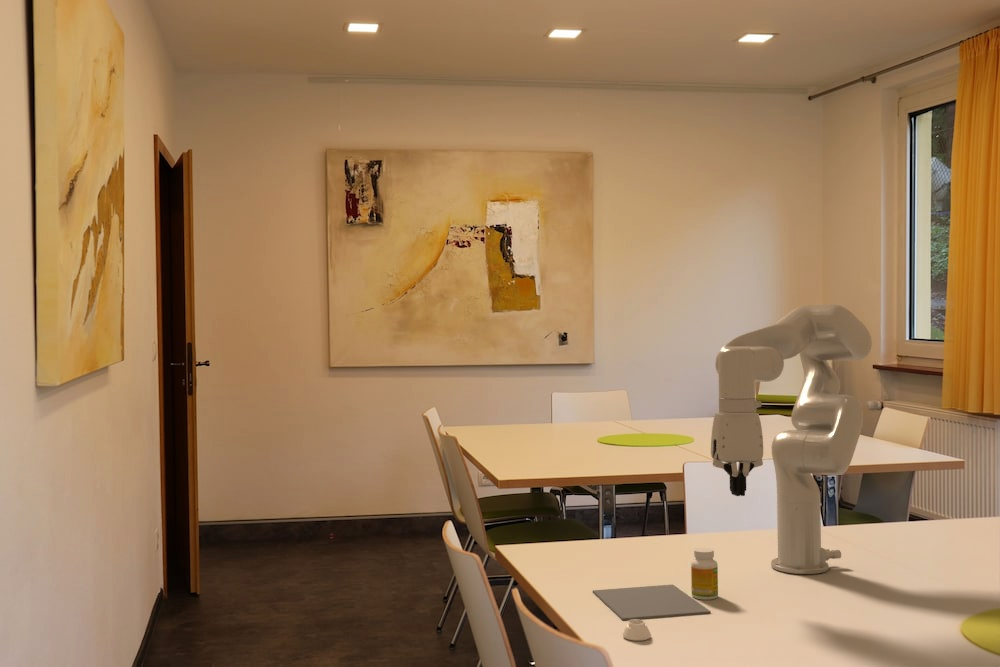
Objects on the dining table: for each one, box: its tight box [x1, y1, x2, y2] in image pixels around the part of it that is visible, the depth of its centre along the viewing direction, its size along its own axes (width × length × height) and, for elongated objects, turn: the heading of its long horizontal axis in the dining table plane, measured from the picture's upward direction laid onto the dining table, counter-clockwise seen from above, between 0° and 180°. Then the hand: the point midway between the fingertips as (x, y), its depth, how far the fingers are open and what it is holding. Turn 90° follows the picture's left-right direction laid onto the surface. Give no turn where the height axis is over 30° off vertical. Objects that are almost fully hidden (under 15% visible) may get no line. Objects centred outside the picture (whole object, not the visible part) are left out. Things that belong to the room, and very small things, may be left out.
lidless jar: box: [622, 619, 652, 642], centre depth 173 cm, size 5×3×5 cm
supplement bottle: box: [690, 547, 719, 601], centre depth 198 cm, size 5×5×10 cm
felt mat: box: [592, 584, 712, 621], centre depth 194 cm, size 18×20×1 cm
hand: (738, 494), depth 199 cm, fingers closed
